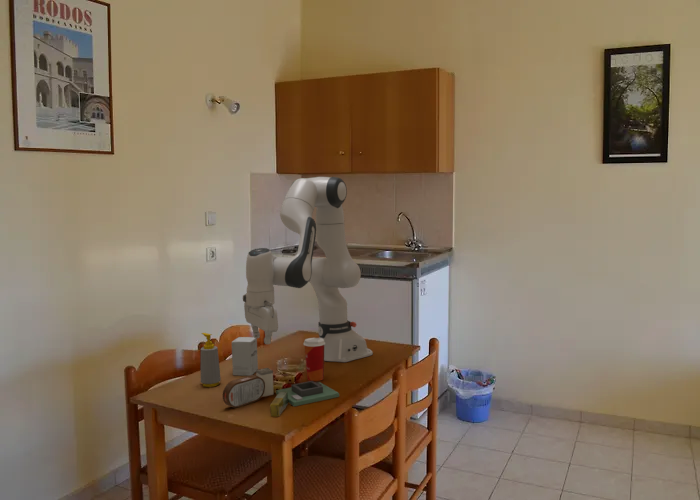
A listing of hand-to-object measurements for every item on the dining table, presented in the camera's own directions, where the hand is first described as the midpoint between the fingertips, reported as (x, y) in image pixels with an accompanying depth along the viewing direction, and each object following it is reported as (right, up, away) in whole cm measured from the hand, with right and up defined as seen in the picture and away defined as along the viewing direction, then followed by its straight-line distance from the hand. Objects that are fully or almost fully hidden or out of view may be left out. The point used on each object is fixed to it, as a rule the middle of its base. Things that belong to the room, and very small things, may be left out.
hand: (261, 340), depth 209 cm
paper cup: (+17, -16, +17) cm, 28 cm away
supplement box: (-10, -16, +26) cm, 32 cm away
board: (+15, -18, 0) cm, 23 cm away
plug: (+1, -18, +2) cm, 18 cm away
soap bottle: (-20, -17, +13) cm, 29 cm away
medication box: (+7, -20, -12) cm, 24 cm away
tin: (-4, -19, -7) cm, 21 cm away
